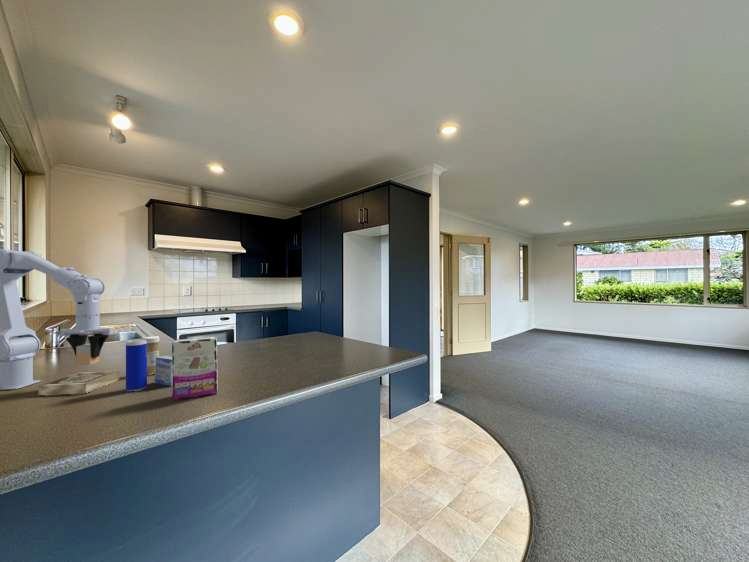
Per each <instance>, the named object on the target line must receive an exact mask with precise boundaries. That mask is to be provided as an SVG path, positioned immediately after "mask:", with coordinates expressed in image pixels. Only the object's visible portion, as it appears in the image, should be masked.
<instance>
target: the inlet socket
mask: <svg viewBox="0 0 749 562" xmlns="http://www.w3.org/2000/svg"><path fill="white" fill-rule="evenodd" d="M101 377H103V375H79V376H76V377H73V378H70V379H67V380H64V381H61V382H59V384H75V383H87V382H90V381H93V380H95V379H98V378H101Z"/></svg>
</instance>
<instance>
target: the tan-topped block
mask: <svg viewBox="0 0 749 562" xmlns="http://www.w3.org/2000/svg"><path fill="white" fill-rule="evenodd" d="M75 357H76V358H75V359H76V360H75V361H76V364H75V365H76V366H89V365H90V366H91V365H93V364H97V363H100V362H101V353H100V354H99V357H95V358H92V356H91V346H90V343H85V344H84V345H80V346H76V355H75Z"/></svg>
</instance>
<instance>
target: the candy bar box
mask: <svg viewBox="0 0 749 562" xmlns="http://www.w3.org/2000/svg"><path fill="white" fill-rule="evenodd" d="M171 354H172V355H171V356H172V374H173V386H172V401H181V400H187V399H193V398H199V397H205V396H213V395H217V394H218V391H219V390H218V389H219V384H218V382H219V379H218V378H219V377H218V376H219V375H218V372H219V371H218V336H217V335H216V336H206V337H205V336H204V337H203V336H202V337H195V338H181V339H174V340H173V341H172V343H171Z"/></svg>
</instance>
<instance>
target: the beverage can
mask: <svg viewBox="0 0 749 562" xmlns="http://www.w3.org/2000/svg"><path fill="white" fill-rule="evenodd" d="M147 386H148V375H147V342H146V340H144V339H135V340H134V339H133V340H127V341H126V343H125V390H126V391H127V392H128V391H129V392H128V393H131V392H130V391H135V392H139V390H140V391H143V390H145V389H146V388H147ZM142 389H143V390H142Z"/></svg>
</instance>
